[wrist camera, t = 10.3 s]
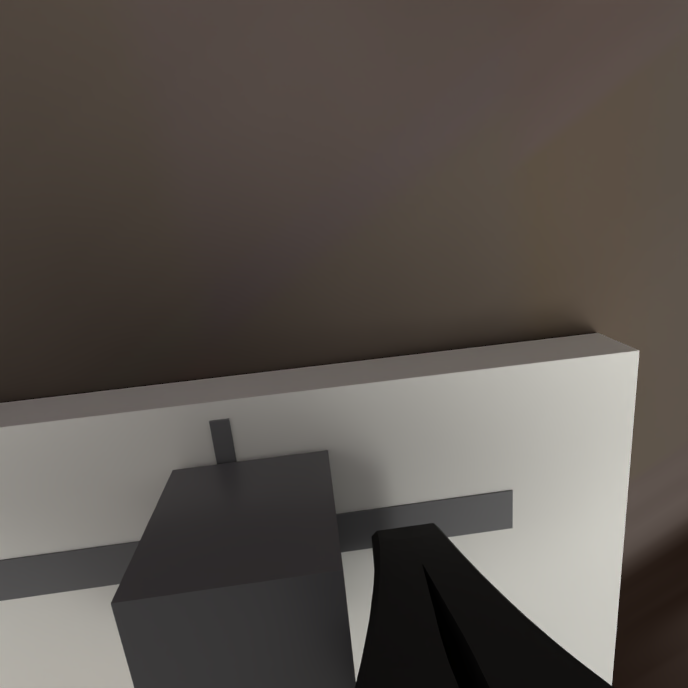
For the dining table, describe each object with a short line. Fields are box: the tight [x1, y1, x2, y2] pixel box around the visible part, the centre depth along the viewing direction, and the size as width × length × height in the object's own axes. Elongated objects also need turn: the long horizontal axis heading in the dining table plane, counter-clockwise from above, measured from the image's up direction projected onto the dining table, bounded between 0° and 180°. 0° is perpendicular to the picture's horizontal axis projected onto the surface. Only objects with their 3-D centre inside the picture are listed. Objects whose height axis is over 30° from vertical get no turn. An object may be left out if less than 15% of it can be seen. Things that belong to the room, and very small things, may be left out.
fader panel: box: [0, 333, 639, 688], centre depth 13 cm, size 15×18×2 cm
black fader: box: [111, 450, 356, 688], centre depth 9 cm, size 4×3×4 cm
